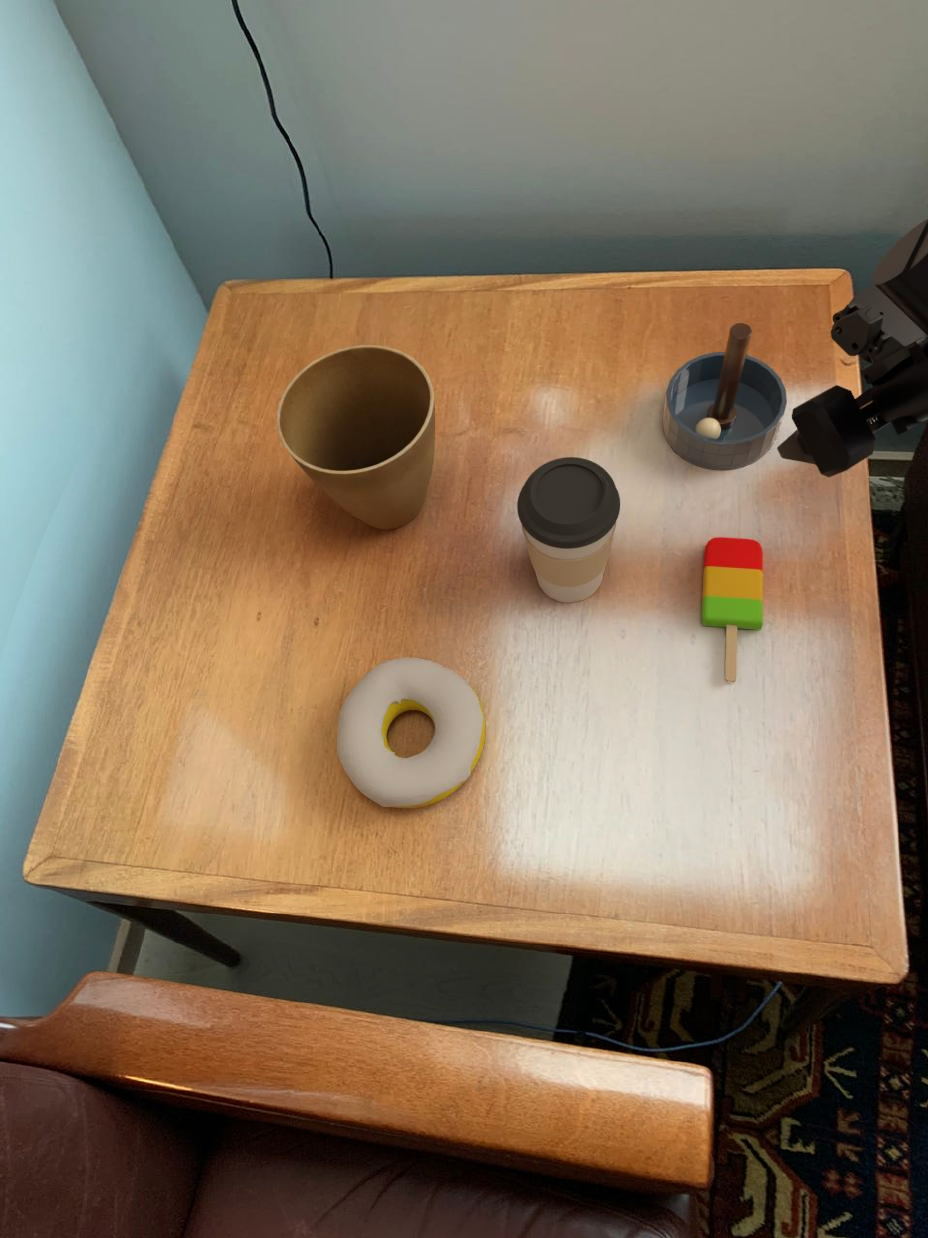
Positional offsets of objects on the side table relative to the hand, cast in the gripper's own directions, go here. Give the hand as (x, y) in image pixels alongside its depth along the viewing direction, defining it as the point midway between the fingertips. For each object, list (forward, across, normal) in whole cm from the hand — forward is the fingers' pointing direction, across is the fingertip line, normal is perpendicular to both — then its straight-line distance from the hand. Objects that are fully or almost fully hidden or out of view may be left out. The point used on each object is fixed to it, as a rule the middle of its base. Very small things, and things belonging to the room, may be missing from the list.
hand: (813, 432), depth 79 cm
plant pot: (+29, +28, -15) cm, 43 cm away
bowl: (+14, -4, -5) cm, 16 cm away
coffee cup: (+18, +19, +1) cm, 26 cm away
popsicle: (+9, +11, +12) cm, 18 cm away
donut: (+20, +41, +8) cm, 47 cm away
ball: (+13, -1, -5) cm, 14 cm away
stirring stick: (+14, -4, -5) cm, 15 cm away
